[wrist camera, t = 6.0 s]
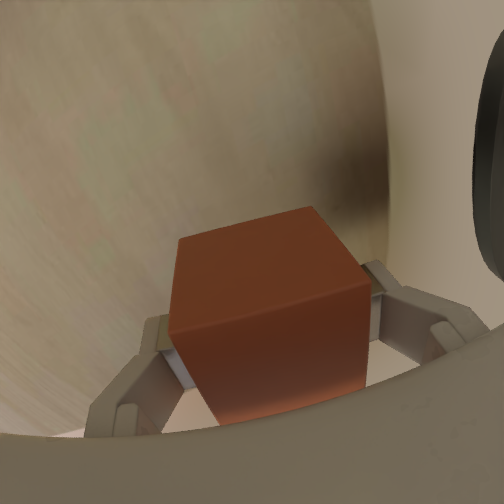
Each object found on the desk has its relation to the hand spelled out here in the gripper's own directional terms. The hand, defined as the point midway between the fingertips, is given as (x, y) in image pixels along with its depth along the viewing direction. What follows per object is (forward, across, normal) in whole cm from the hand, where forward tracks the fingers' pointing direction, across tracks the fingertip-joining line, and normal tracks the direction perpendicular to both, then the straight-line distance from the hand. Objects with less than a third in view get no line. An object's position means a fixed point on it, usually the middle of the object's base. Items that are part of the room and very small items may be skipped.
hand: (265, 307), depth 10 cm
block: (+2, 0, 0) cm, 2 cm away
